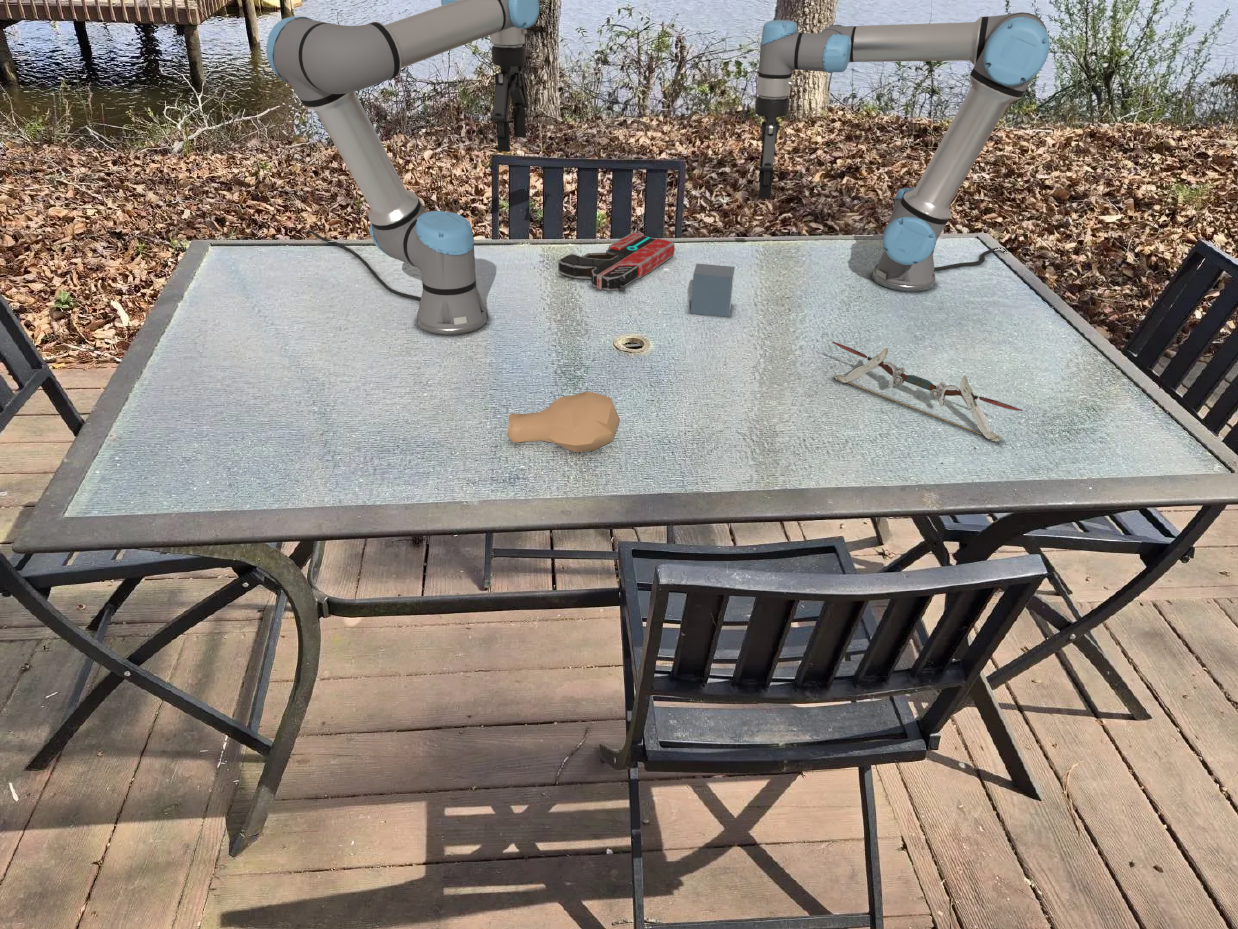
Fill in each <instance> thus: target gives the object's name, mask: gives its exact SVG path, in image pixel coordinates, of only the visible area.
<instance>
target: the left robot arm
mask: <svg viewBox="0 0 1238 929" xmlns="http://www.w3.org/2000/svg"><path fill="white" fill-rule="evenodd" d="M539 15H540V1H539V0H440V6H437V7H433V8H430V9H428V10H425V11H422V12H419V13H416V14H412V15H410V16H407V17H404V18H402V19H398V20H396V21H392V22H389V23H386V24H383V23H381V22H380V21H372V22H369V23H366V24H360V25H346V24H345V25H344V24H343V25H342V24H337V23H331V22H327V21H326V22H325V21H320V20H315V19H312V18H311V17H307V16H289V17H285V18H283V19H280V20H279V21H278V22H276V24H274V26H273V27H272V29H271V30H270V32H269V34H268V37H267V43H266V46H265V48H266V57H267V62H268V64H269V66H270V68H271V70H272V72H273V73H274V74H275V75H276V76H277V77H278V78H280V79H281V80H282V81H284V82H286V83H289V84H290V85H291V87H292V89H293V91H294V93H295V94H296V96H297V98H298V99H299V101H300V103H301V104H302V106H303V107H304V108H306V109H309V110H312V111H315V113H316V115H317V117H318V118H319V120H320V122H321V123H322V125H323V127H324V129H325V130H326V132H327V133H328V136H329V138H330V139H331V141H332V143H333V144H334V146H335V148H336V150H337V152H338V153H339V155H340V157H341V159H342V160H343V163H344V164H345V165H346V167H347V169H348V171H349V173H350V174H351V176H352V178H353V179H354V180H353V181H354V182H355V183H356V185H357V187H358V189H359V191H360V192H361V194H362V196H363V197H364V199H365V202H366V203H367V204H368V206H369V211H368V213H367V218H368V221H369V223H370V226H369V235H370V237H371V239H372V242H373V243H374V245H375V246H376V247H377V248H378V249H379V251H381V252H382V253H383V254H385V255H386V256H388V257H389V258H392V259H394V260H398V261H400V262H403V263H405V264H407V265H410V266H412V267H414V268H417V269H419V270H420V275H421V276H420V278H421V284H422V292H421V297H420V296H417V295H413V294H408V293H404V292H401V291H398V290H395V289H393V288H391V287H390V286H389V285H387V283H385V282H384V281H383V280H382V279H381V278H380V276H378V275H377V274H376V272H375V271H374V269H372V267H371V266H370V265H369V264H368V262H366V260H365V259H364V258H363V257H362V256H361V255H360V254H358V253H357V252H355V251H354V250H353V249H351V248H349V247H347V246H346V245H344V244H341V243H339V242H337V241H334V242H328V243H329V244H332V245H335V246H336V247H339V248H341V249H343V250H345V251H347V252H349V253H350V254H352V255H353V256H355V257H356V258H357V259H358V260H359V261H360V262H361V263H362V264H363V265H364V266H365V267H366V269H367V270H368V271H369V272H370V273H371V275H372V276H373V277H374V278H375V279H376V280H377V281H378V283H380V284H381V285H382V287H383V288H385V289H386V290H387V291H389V292H390V293H393V294H395V295H398V296H400V297H405V298H408V299H413V300H416V301H420V302H419V305H418V310H417V315H416V318H417V325H418V326H419V328H420V329H421V330H423V331H424V332H427V333H430V334H433V335H440V336H459V335H465V334H469V333H473V332H476V331H477V330H480V329H481V328H483V327H484V326H485V325H486V323H487V320H488V316H487V310H486V306H485V304H484V302H483V299H482V298H481V295H480V293H479V291H478V288H477V278H476V277H477V276H476V260H475V259H476V258H475V238H474V234H473V228H472V225H471V223H470V221H469V220H468V219H467V218H466V217H464V216H463V215H461V214H458V213H456V212H453V211H445V210H431V211H430V210H429V211H427V212H426V211H425V209H424V207H423V205H422V203H421V201H420V199H419V197H418V195H417V194H416V193H415V192H414V191H412V190H409V189H406V187H405V185H404V183H403V182H402V180H401V177H400V176H399V173H398V172H397V170H396V168H395V166H394V164H393V162H392V160H391V159H390V156H389V155H388V152H387V151H386V149H385V146H384V145H383V143H382V141H381V139H380V137H379V135H378V134H377V131H376V129H375V127H374V126H373V124H372V121H371V120H370V117H369V116H368V115H367V112H366V111H365V108H364V106H363V104H362V103H361V101H360V99H359V97H358V95H357V93H356V92H359V91H362V90H364V89H368V88H371V87H374V86H376V85H379V84H381V83H384V82H387V81H389V80H391V79H394V78H397V77H399V75H400V74H401V71H402V69H404V68H406V67H409V66H411V65H414V64H416V63H420V62H422V61H425V60H427V59H430V58H433V57H435V56H438V55H440V54H443V53H446V52H449V51H452V50H454V49H456V48H459V47H463V46H465V45H467V44H470V43H472V42H476V41H478V40H481V39H483V38H486V37H488V36H490V43H491V44H492V46H491V48H490V49H491V50H490V51H491V63H492V64H493V65H494V66H498V67H499V69H500V70H499V72H496V73H495V75H494V76H495V79H494V80H495V86H494V100H493V109H492V110H493V111H492V117H491V121H492V122H495V123H496V142H497V143H496V144H497V152H503V153H504V152H506V153H509V152H511V142H510V141H511V140H510V139H511V138H510V136H511V135H510V121H509V120H508V117H509V112H510V105H511V100H512V103H513V106H514V108H512V110H513V111H512V114H513V115H512V116H513V117H512V118H513V137H514V138H523V139H525V138H527V131H526V130H527V128H526V127H527V126H526V109H529V102H528V96H527V90H526V84H525V78H524V68H523V66H524V65H525V64H526V59H527V58H526V48H525V46H524V44H525V43H526V39H525V38H526V37H525V35H527V33H528V31H527V29H528V28H531V27H532V26H534V24H535V23H536V22H537V21H538V18H539ZM309 234H312V235H313V236H315V237H316V238H317V239H319V240H321V241H324V242H326V241H333V239H332V240H331V239H329V238H326V237H323V236H322V235H319V234H318V233H317V232H316V231H314V230H312V229H308V230H307V231H306V232H305V235H309Z"/></svg>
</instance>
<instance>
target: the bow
mask: <svg viewBox="0 0 1238 929" xmlns="http://www.w3.org/2000/svg"><path fill="white" fill-rule="evenodd" d="M831 343H832V344H833V345H835V346H838V347H839V348H841V349H842V350H844V351H846V352H848V353H851V354H853V355H856V356H858V357H861V358H863V359H866V360H867V361H868V362H867V363H865V364H862V365H861V366H859V367H856V368H855V369H853V370H851V371H850V372H849V373H847V375H845V374H842V375H841V374H836V375H834V379H835V381H838V382H840V383H846V384H849V385H852V386H854V387H857V388H860V389H862V390H865V391H867V392H869V393H873V394H874V395H878V396H880V397H882V398H885V399H888V400H891V401H893V402H895V403H897V404H901V405H903V406H906V407H907V408H908V407H909V408H911V409H913V410H917V411H919V412H920V413H924V414H926V415H929V416H931V417H935V418H937V419H939V420H942V421H944V422H947V423H950V424H953V425H955V426H956V427H957V426H958V427H960V428H963V429H966V430H968V431H970V432H973V433H976V434H978V435H981V436H983V437H985V438H986V439H987V440H990V441H992V442H995V443H996V442H1000V440H1002V437H1001V436H1000V435H998V434H997V433H995V432H994V431H993V430H991V427H990V425H989V422H988V419H987V418H986V416H985V414H984V413H983V411H982V409H981V408H980V406H979V404H978V403H977V401H976V400H978V399H979V400H980V401H982V402H984V403H988V404H990V405H993V406H995V407H1001V408H1003V409H1008V410H1012V411H1018V412H1023V409H1021V408H1018V407H1016V406H1013V405H1010V404H1007V403H1004V402H1002V401H998V400H995V399H991V398H988V397H985V396H978V395H977V394H975V393H974V390H973V388H972V387H971V385H970V384H969V382H968V381H969V380H968V376H967V375H963V376H962V377H961V380H960V384H959V387H958V386H956V385H954V384H949V385H947V384H946V383H944V381H941V382H940V383H939V384H937V385H935V384H933V382H931V381H930V380H928V379H925V378H923V377H921V376H918V375H915V374H906V373H905V371H906V369H905V367H899V368H898V367H897V365H895V364H894V363H892V362H889V361H885V359H886V358H887V357H888V351H889V348H888V347H886V348H884V349H883V350H882V351H881V352H880V353H879V354H876V355H875V356H873V357H871V356H867V354H864V353H863V352H860V351H858V350H856V349H853V348H852V347H849V346H846V345H843V344H841V343H838V342H836V341H831ZM878 368H882V369H883V370H884V371H885V372H886V373H887V374H889V375H890V376H891V379H890V381H889V384H888V385H887V387H888V388H891V389H893V388H894V387H896V384H897V385H899V386H901V385H902V384H904V382H905V383H908V384H910V385H913V386H916V387H919V388H921V389H923V390H926V391H930V396H931V397H932V398H934V399H938V405H937V406H939V407H941V408H943V407H944V406H945V405H946V397H947V396H948V397H954V396H956V397H957V396H958V397H961V399H962V400H963V401H964V403H965V404H966V406H967V408H968V410H969V411H970V414H971V417H972V419H973V420H974V422H975V423H976V426H977V427H978V429H979V430H980V432H978V431H976V430H973V429H971V428H968V427H966V426H963V425H960V424H958V423H955V422H953V421H950V420H947V419H944V418H943V417H939V416H937V415H935V414H932V413H929V412H927V411H923V410H922V409H919V408H916V407H913V406H911V405H909V404H906V403H903V402H901V401H898V400H895V399H892V398H890V397H888V396H884V395H883V394H880V393H878V392H875V391H873V390H870V389H867V388H864V387H862V386H860V385H856V384H854V383H851V382H852V381H854V380H858V379H859V378H860V377H862V376H864V375H866V374H867V373H869V372H870V371H873V370H875V369H878Z"/></svg>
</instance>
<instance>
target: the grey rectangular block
mask: <svg viewBox="0 0 1238 929" xmlns="http://www.w3.org/2000/svg"><path fill="white" fill-rule="evenodd" d="M735 267H736V266H729V265H718V264H707V263H695V267H694V270H693V274H692V287H691V288H692V289H691V301H690V312H689V313H690V314H695V315H704V316H715V317H725V318H729V316H730V312H731V306H732V298H733V289H734V278H735V270H736V269H735Z"/></svg>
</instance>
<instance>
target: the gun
mask: <svg viewBox="0 0 1238 929" xmlns="http://www.w3.org/2000/svg"><path fill="white" fill-rule="evenodd" d="M675 252H676V248H675V242H673V241H670V240H667V239H663V238H655V237H650V236H647V235H644V233H641V232H631V233H629V234H627V235H625V236H624V237H622V238H620V239H619V240H616V241H615V242H612V243H611V244H609V245H608V247H607V250H605V252H587V253H585V254H583V255H582V256H581V255H577V254H575V253H573V252H572V253H569V254H568V255H565V256H564V257H561V258H559V259H558V260H557V262H558V263H557V266H558V268H557V270H558V274H561V275H563V276H566V277H569V278H573V279H583V280H584V279H585V280H586V279H589V280H590V279H591V280H590V281H591V282H590V283H591V285H592V287H594V288H596V290H598V291H599V290H600V291H601V290H604V291H608V292H609V291H616V290H617V291H621V292H625V291H626V286H628V285H629V284H631V283H633V282H634V281H635V280H637V279H641V278H643V277H645V276H646V275H648V274H649V273H651V272H652V271H654V270H655V269H657V268H659V266H661V265H662V264H664V263H665V262H667V260H669V259H671V258H673V256H674V254H675Z"/></svg>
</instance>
